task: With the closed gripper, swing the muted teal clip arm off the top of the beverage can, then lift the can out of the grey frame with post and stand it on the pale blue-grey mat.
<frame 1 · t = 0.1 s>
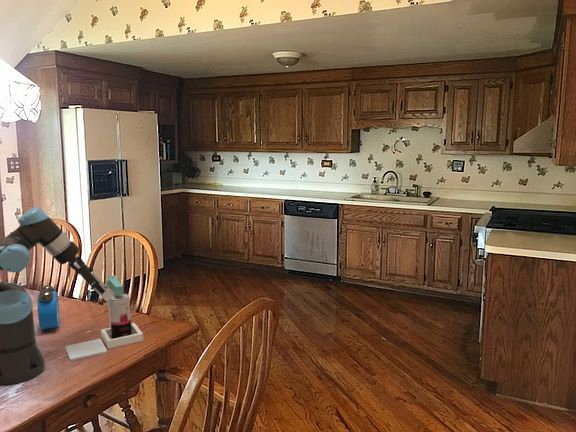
hand: (105, 292, 166), 15 cm above the table, tool tilted 35°, fingers open, 13 cm apart
mat: (86, 350, 157), on the table
clip arm: (115, 285, 168), point 18 cm above the table, hinge at 0.0°
grey frame with post: (122, 338, 166), on the table
alarm clock: (50, 328, 176), on the table
beverage can: (122, 339, 166), resting in grey frame with post
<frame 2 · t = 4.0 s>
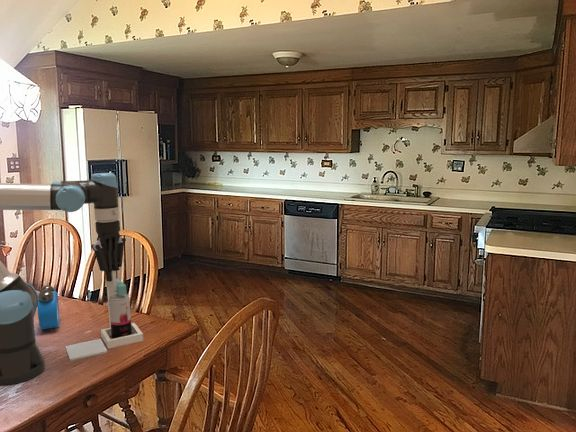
hand: (112, 289, 163), 18 cm above the table, tool pointing down, fingers closed
clip arm: (116, 285, 168), point 18 cm above the table, hinge at 4.2°, touching gripper
everything else where it was.
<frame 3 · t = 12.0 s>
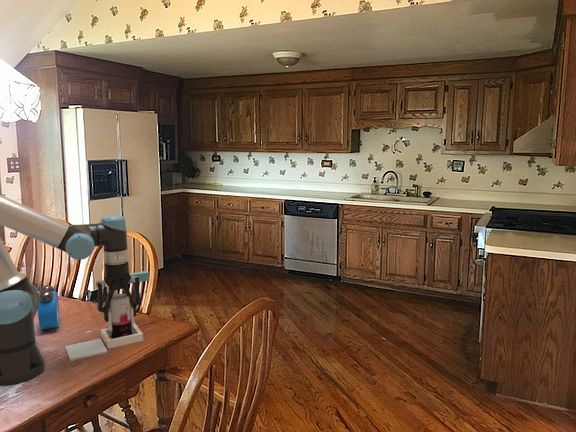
hand: (121, 327, 165), 4 cm above the table, tool pointing down, fingers closed on beverage can, 6 cm apart
clip arm: (127, 278, 175), point 18 cm above the table, hinge at 88.3°
beverage can: (122, 339, 166), resting in grey frame with post, touching gripper
everything else where it was.
when the fingers open (6 cm above the table, at t = 18.8 s): beverage can drops 1 cm, resting on mat.
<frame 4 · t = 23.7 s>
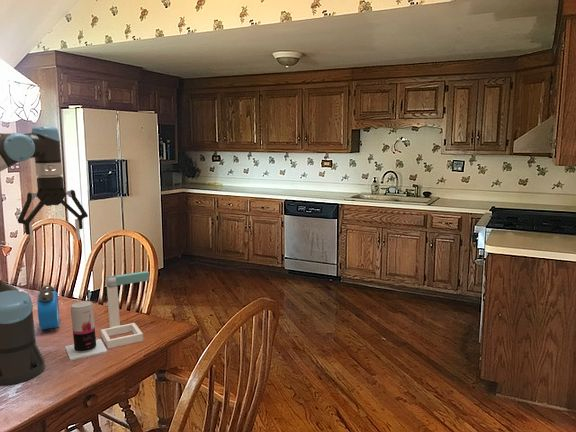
hand: (55, 241, 157), 35 cm above the table, tool pointing down, fingers open, 13 cm apart
beverage can: (85, 349, 157), resting on mat
everything else where it was.
at the end: clip arm at +88° (first picture: +0°); beverage can 0.1 cm from the target spot, resting on mat; beverage can tilted 1° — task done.
